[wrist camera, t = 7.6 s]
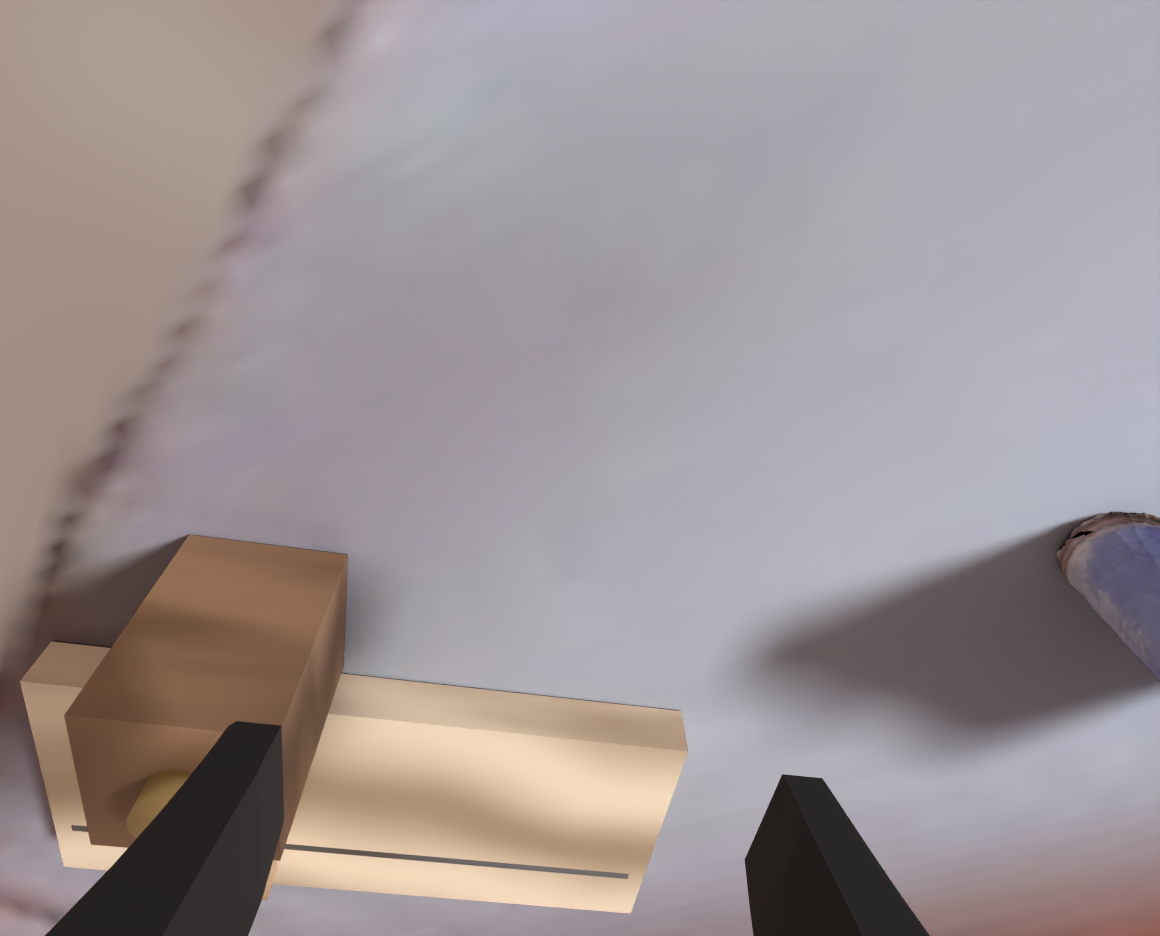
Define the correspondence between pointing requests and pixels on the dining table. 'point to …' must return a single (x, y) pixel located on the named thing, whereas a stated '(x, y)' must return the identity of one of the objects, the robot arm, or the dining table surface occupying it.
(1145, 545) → the flask
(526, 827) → the board
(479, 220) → the dining table surface
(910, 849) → the dining table surface
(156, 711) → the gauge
